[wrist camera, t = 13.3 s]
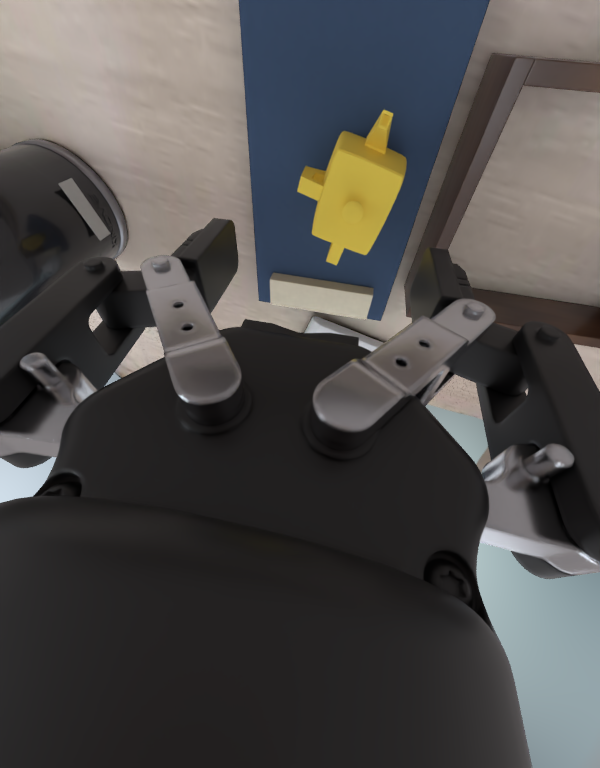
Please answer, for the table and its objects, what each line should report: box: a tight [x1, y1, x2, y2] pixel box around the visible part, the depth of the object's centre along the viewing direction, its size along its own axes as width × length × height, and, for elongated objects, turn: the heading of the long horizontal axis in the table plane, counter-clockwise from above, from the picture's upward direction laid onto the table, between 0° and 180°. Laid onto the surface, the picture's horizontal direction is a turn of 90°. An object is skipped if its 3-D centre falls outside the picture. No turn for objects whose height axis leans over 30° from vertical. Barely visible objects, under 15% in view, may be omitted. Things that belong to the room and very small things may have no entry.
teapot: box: [297, 110, 407, 265], centre depth 18 cm, size 8×6×5 cm
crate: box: [404, 53, 600, 348], centre depth 18 cm, size 17×14×4 cm
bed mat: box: [239, 0, 490, 321], centre depth 20 cm, size 12×20×2 cm, turn 177°
